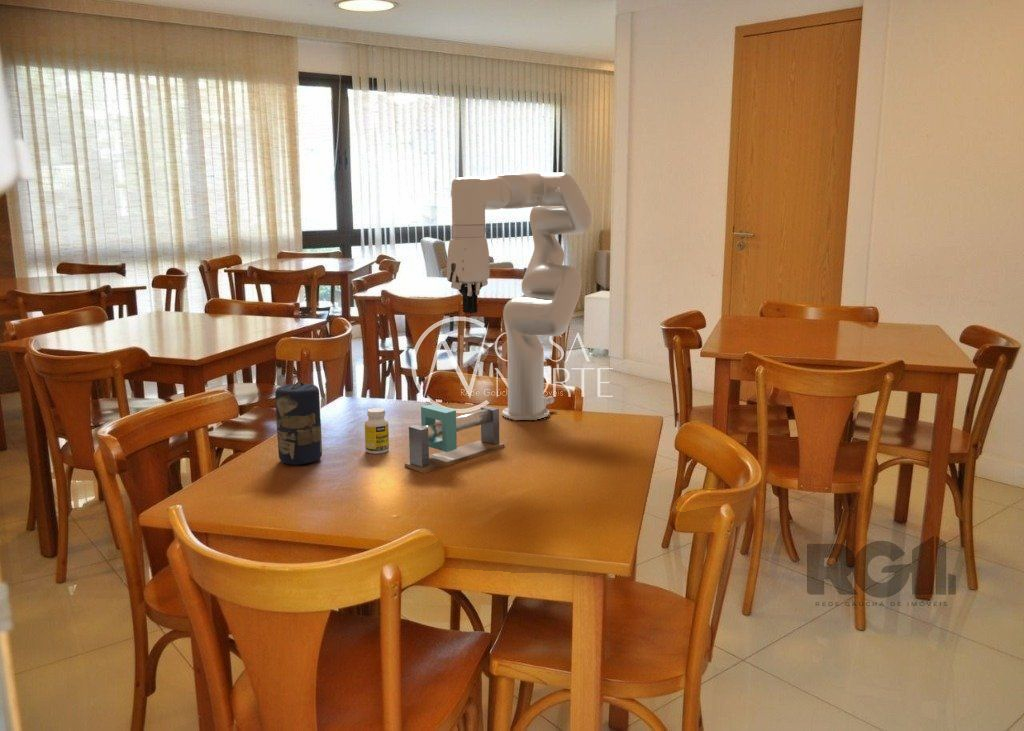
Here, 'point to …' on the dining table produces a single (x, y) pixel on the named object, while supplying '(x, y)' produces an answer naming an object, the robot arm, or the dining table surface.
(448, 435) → the teal rectangular frame
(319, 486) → the dining table surface
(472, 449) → the base board
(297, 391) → the canister
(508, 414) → the robot arm
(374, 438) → the supplement bottle
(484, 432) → the rail
